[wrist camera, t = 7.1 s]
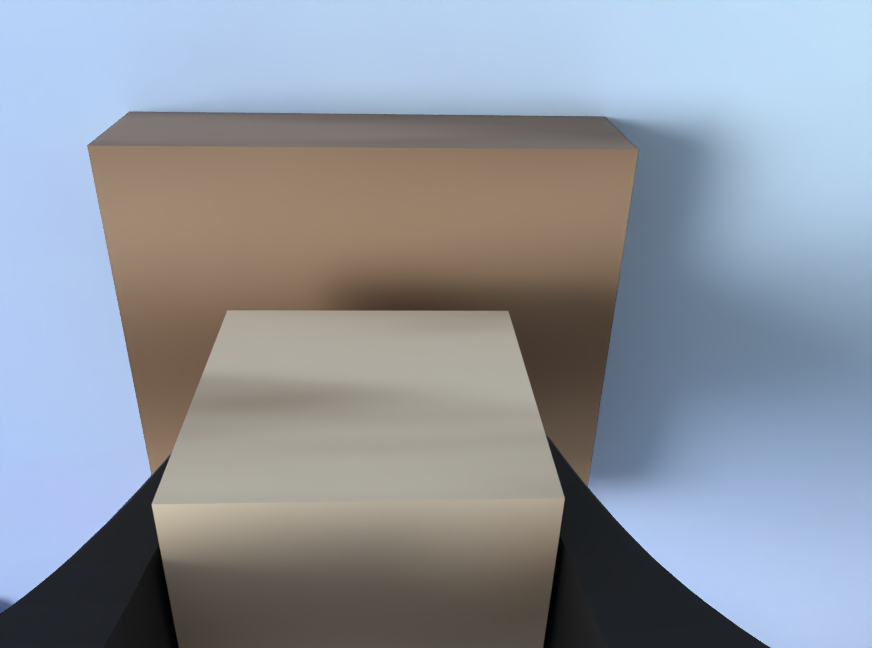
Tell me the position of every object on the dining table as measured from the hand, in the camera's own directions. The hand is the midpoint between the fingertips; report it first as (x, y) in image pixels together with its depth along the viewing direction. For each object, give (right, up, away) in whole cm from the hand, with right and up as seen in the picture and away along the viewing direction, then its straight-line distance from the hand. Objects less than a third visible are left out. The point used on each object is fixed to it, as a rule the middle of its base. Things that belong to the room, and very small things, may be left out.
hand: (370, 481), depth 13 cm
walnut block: (0, +3, +5) cm, 6 cm away
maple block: (0, +1, +1) cm, 2 cm away
